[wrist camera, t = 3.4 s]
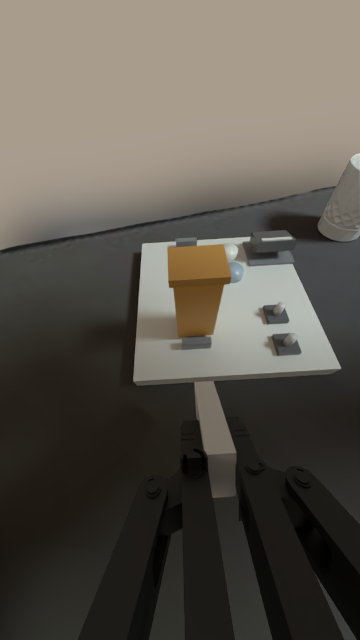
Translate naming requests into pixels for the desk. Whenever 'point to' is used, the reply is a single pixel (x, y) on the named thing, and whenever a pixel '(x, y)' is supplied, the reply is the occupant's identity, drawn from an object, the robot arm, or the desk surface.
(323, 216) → the white cup
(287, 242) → the rocker
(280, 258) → the console
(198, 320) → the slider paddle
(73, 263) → the desk surface
